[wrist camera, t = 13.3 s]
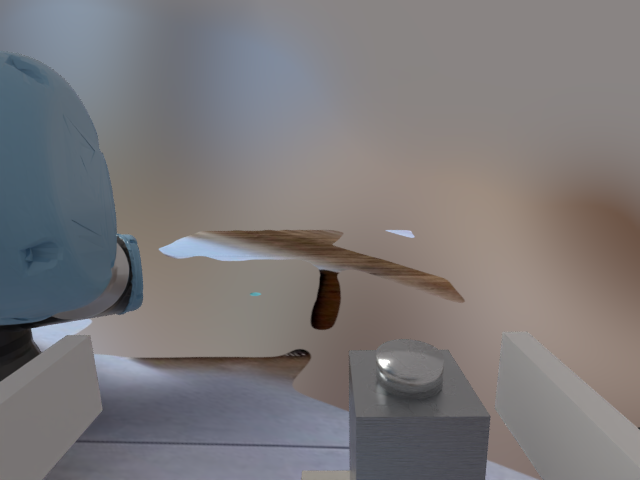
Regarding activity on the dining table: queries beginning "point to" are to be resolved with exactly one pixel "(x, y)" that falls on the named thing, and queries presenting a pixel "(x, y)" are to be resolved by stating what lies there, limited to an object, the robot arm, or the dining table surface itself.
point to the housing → (414, 416)
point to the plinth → (325, 475)
